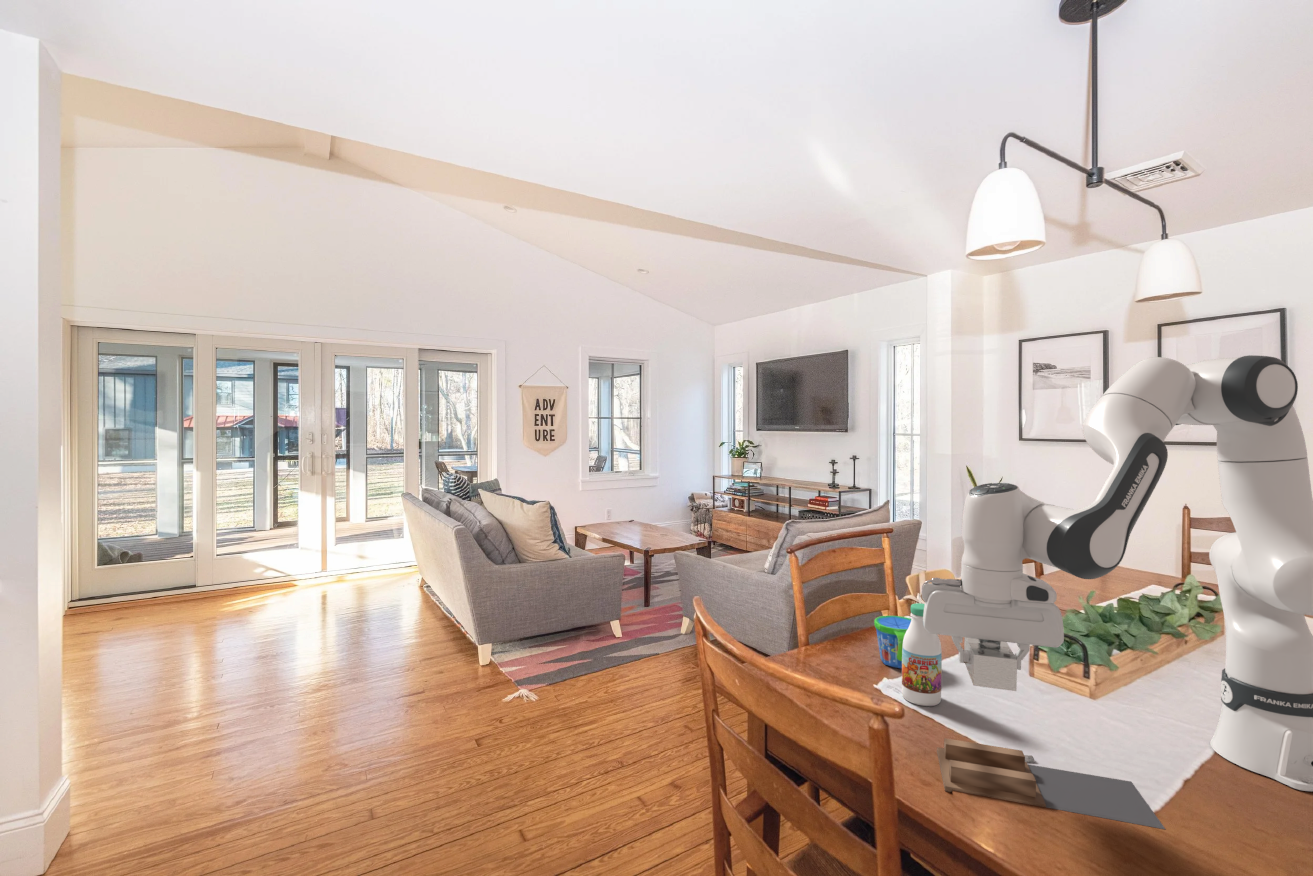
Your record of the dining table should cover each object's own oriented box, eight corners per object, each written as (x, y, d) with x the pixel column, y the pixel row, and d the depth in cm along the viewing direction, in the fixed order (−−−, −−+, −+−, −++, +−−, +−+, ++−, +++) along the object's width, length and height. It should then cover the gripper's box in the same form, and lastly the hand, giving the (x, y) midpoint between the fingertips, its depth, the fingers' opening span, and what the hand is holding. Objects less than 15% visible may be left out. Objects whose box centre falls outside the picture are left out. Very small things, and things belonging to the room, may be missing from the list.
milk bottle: (896, 690, 132) (897, 600, 131) (931, 690, 132) (933, 600, 131) (909, 707, 124) (911, 611, 124) (947, 707, 124) (949, 612, 123)
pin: (1029, 757, 105) (1032, 754, 105) (1032, 766, 104) (1035, 762, 103) (1005, 756, 106) (1007, 752, 105) (1008, 764, 105) (1010, 760, 104)
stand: (1026, 766, 103) (1026, 747, 103) (1045, 809, 92) (1046, 788, 92) (936, 751, 108) (937, 733, 108) (944, 791, 97) (945, 770, 97)
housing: (1016, 691, 94) (1017, 653, 94) (973, 685, 96) (974, 648, 96) (1002, 665, 103) (1003, 631, 103) (964, 661, 105) (964, 627, 105)
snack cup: (873, 648, 156) (873, 609, 155) (917, 653, 152) (918, 614, 152) (874, 673, 141) (875, 630, 140) (923, 679, 137) (924, 635, 137)
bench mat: (1131, 784, 98) (1131, 781, 98) (1165, 832, 87) (1165, 829, 87) (1019, 765, 104) (1019, 763, 104) (1038, 808, 92) (1038, 805, 92)
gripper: (923, 581, 99) (922, 663, 100) (1068, 593, 92) (1066, 682, 93) (920, 572, 105) (919, 649, 106) (1056, 583, 98) (1054, 666, 99)
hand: (989, 665), depth 99 cm, fingers closed on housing, 6 cm apart
